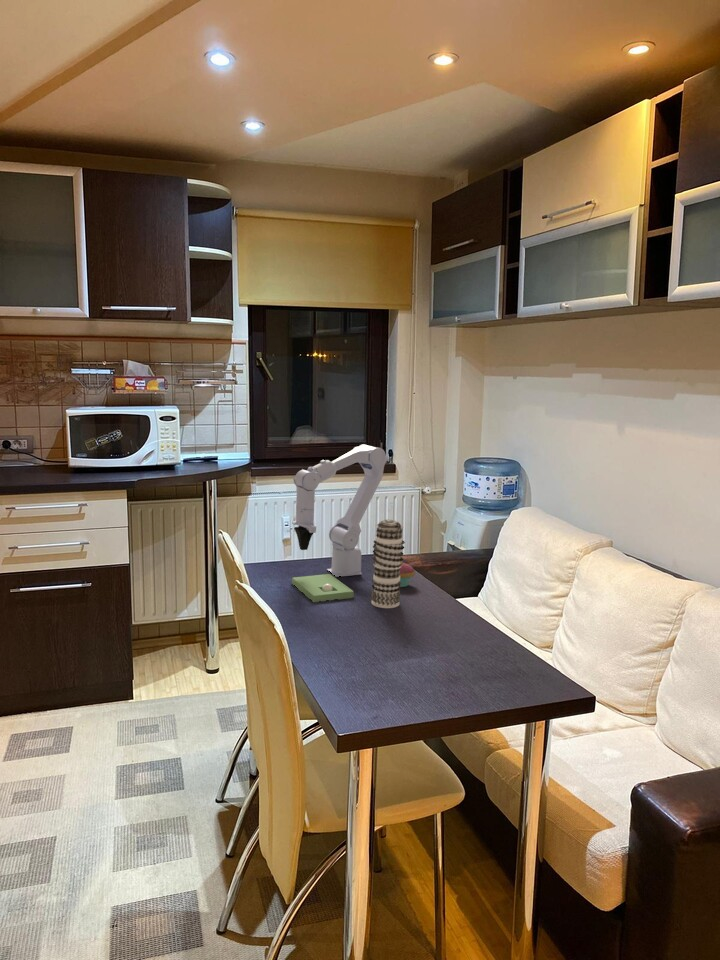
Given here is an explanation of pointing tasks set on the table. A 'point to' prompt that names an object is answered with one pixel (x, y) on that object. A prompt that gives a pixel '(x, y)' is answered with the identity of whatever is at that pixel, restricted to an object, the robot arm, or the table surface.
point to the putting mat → (314, 587)
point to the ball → (327, 588)
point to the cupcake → (405, 574)
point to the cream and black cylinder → (387, 564)
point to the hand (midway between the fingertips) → (303, 549)
